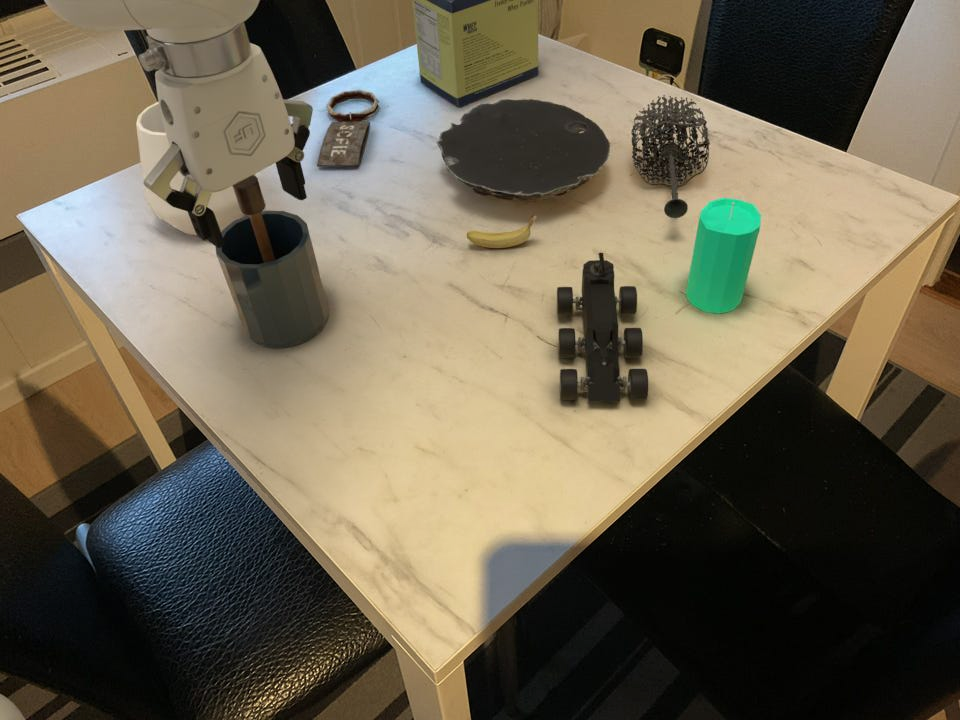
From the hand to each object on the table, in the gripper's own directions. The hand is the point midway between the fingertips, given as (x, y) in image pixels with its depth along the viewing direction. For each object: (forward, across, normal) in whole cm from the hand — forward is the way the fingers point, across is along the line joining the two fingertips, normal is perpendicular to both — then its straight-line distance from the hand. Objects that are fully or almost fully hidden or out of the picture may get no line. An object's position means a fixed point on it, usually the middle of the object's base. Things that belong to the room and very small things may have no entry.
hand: (255, 217), depth 77 cm
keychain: (+14, +29, +25) cm, 41 cm away
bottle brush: (+13, 0, 0) cm, 13 cm away
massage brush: (+14, +46, -18) cm, 52 cm away
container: (+14, 0, 0) cm, 14 cm away
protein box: (+14, +52, +21) cm, 58 cm away
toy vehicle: (+14, +18, -29) cm, 37 cm away
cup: (+14, +6, +24) cm, 28 cm away
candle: (+14, +33, -33) cm, 49 cm away
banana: (+14, +25, -10) cm, 30 cm away
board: (+14, +37, -2) cm, 40 cm away
